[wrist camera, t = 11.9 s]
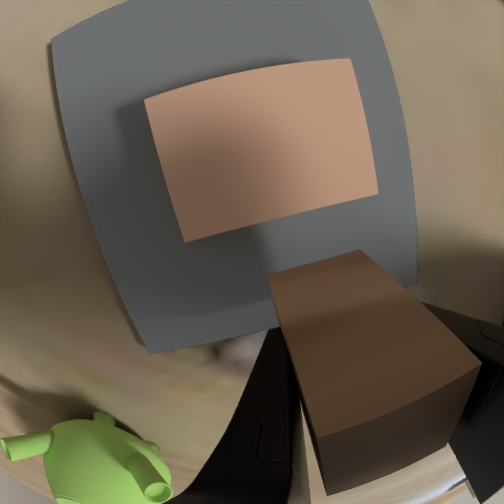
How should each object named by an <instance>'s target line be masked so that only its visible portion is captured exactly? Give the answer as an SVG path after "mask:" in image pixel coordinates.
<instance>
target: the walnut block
mask: <svg viewBox="0 0 504 504" xmlns="http://www.w3.org/2000/svg"><path fill="white" fill-rule="evenodd" d="M267 279H268V283H269V287H270V291H271V295H272V299H273V303H274V307H275V311H276V315H277V319H278V323H279V327H281V329H282V332H283V335H284V338H285V342H286V345H287V348H288V351H289V355H290V359H291V363H292V367H293V372H294V376H295V380H296V385H297V389H298V393H299V398H300V403H301V407H302V410H303V414H304V417H305V421H306V424H307V428H308V431H309V435H310V438H311V442H312V445H313V449H314V452H315V456H316V459H317V463H318V466H319V470H320V473H321V477H322V480H323V484H324V488H325V491H326V495H327V496H329V495H333V494H336V493H339V492H342V491H346V490H349V489H352V488H355V487H358V486H360V485H363V484H366V483H369V482H371V481H374V480H376V479H379V478H381V477H384V476H386V475H389V474H391V473H393V472H396V471H398V470H400V469H402V468H404V467H407V466H409V465H411V464H413V463H415V462H417V461H419V460H421V459H423V458H425V457H427V456H429V455H431V454H432V453H434V452H436V451H438V450H440V449H441V448H443V447H445V446H446V444H447V442H448V440H449V439H450V437H451V435H452V433H453V431H454V429H455V427H456V425H457V423H458V421H459V419H460V417H461V414H462V412H463V410H464V408H465V406H466V403H467V401H468V399H469V396H470V394H471V391H472V389H473V386H474V384H475V381H476V379H477V376H478V373H479V370H480V368H481V365H482V362H481V361H480V360H479V359H478V358H477V357H476V356H475V355H474V354H473V353H472V352H471V351H470V350H469V349H468V348H467V347H466V346H465V345H464V344H463V343H462V342H461V341H460V340H459V339H458V338H457V337H456V336H455V335H454V334H453V333H452V332H451V331H450V330H449V329H448V328H447V327H446V326H445V325H444V324H443V323H442V322H441V321H440V320H439V319H438V318H437V317H436V316H435V315H434V314H433V313H432V312H430V311H429V310H428V309H427V308H426V307H425V306H424V305H423V304H422V303H421V302H420V301H419V300H418V299H416V298H415V297H414V296H413V295H412V294H411V293H410V292H409V291H408V290H407V289H405V288H404V287H403V286H402V285H401V284H400V283H399V282H398V281H397V280H395V279H394V278H393V277H392V276H391V275H390V274H389V273H387V272H386V271H385V270H384V269H383V268H382V267H380V266H379V265H378V264H377V263H376V262H375V261H373V260H372V259H371V258H370V257H369V256H368V255H366V254H365V253H364V252H363V251H362V250H360V249H358V250H355V251H351V252H348V253H344V254H341V255H337V256H334V257H330V258H327V259H323V260H320V261H316V262H312V263H309V264H305V265H301V266H298V267H294V268H290V269H287V270H283V271H279V272H276V273H272V274H268V275H267Z"/></svg>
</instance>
